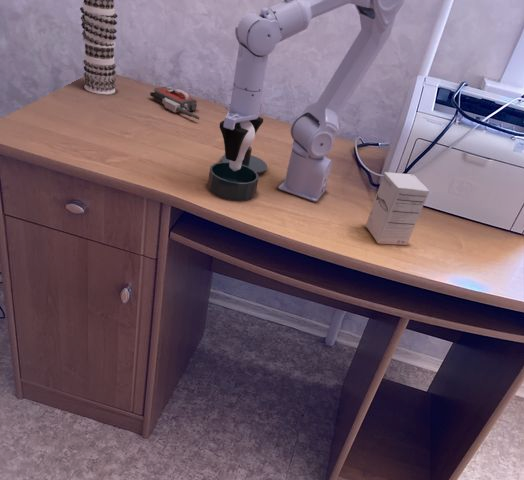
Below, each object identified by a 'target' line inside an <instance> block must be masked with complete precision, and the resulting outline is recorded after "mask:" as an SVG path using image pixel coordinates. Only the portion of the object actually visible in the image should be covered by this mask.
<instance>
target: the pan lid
mask: <svg viewBox="0 0 524 480" xmlns="http://www.w3.org/2000/svg"><path fill="white" fill-rule="evenodd" d="M252 151H253V148H252V146H250V148H249V151H248V152H247V153H245V156H244V159H243V161H242V165H244V166H247V167H249V168H251V169H253V170H254V171H255V172H256V173H257V174H258V175H261V174H264V173H266V171H267V170H268V165H267V163H266V162H265V161H264V160H262V159H261V158H260V157H258V156H255V155H253V154H252ZM220 162H230V160H228V159H226V156H225V154H223V155H222V156H221V158H220Z"/></svg>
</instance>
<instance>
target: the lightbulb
mask: <svg viewBox="0 0 524 480" xmlns="http://www.w3.org/2000/svg"><path fill="white" fill-rule="evenodd" d="M240 126H241V128H243V129H246V130H248V132H247V134H246V135H245V137H244V139H243V141H242V144H241V147H240V150H239V154H238V157H237V159H236V161H231V160H230V163H229V167H230V168H231V169H232V170H233V171H237V170H240V169H241V165H242V161H243V159H244V156H245V153H246V151H247V149H248V148H249V147H251V146H252V144H253V143H254V140H255V138H256V134H255V129H254V127H253V125H252V123H251V122H250V121H243V122H240ZM250 145H251V146H250Z"/></svg>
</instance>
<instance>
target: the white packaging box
mask: <svg viewBox="0 0 524 480" xmlns="http://www.w3.org/2000/svg"><path fill="white" fill-rule="evenodd" d="M429 193H430V189H429V188H428V187H426V186H425V184H424V183H422V181H421V180H420V179H419V178H417V176H416V175H415V174H411V173H401V172H390V171H385V172H384V173H383V175H382V178H381V181H380V183H379V186H378V189H377V193H376V195H375V197H374V201H373V203H372V205H371V209H370V211H369V215H368V218H367V220H366V224H365V228H367V230H368V231H369V233H370V234H371V235H372V237H373V238H374V240H375V241H376V243H377V244H382V245H397V246H398V245H399V246H407V245H408V244H409V240H410V238H411V236H412V233H413V230H414V229H415V226H416V224H417V221H418V219H419V217H420V215H421V212H422V210H423V207H424V205H425V203H426V200H427V199H428V195H429Z"/></svg>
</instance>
